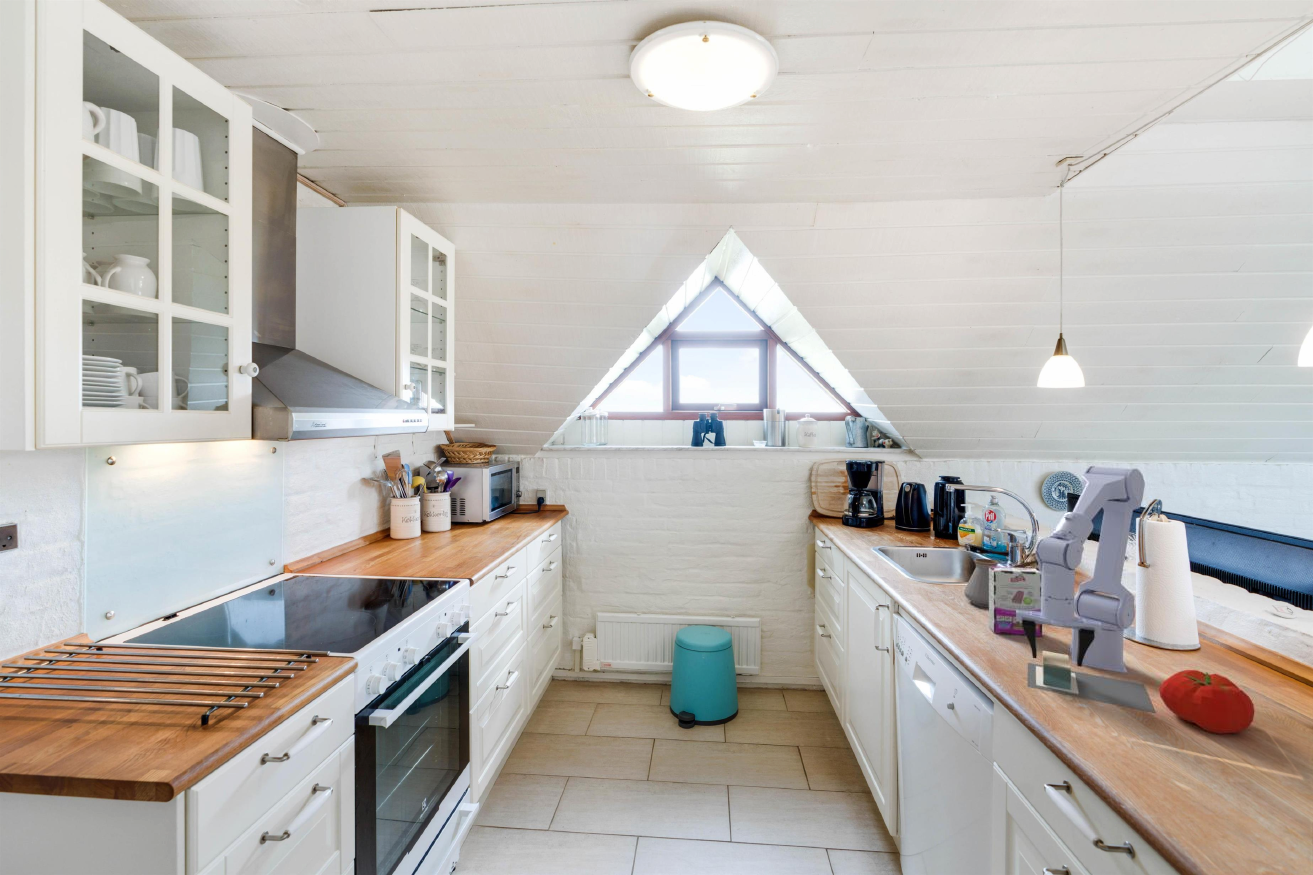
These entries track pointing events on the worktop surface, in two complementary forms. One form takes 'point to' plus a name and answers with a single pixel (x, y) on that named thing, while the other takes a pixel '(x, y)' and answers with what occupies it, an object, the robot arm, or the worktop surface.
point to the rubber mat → (1096, 689)
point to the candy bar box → (1013, 598)
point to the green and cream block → (1056, 670)
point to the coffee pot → (984, 581)
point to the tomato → (1208, 701)
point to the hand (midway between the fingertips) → (1056, 660)
